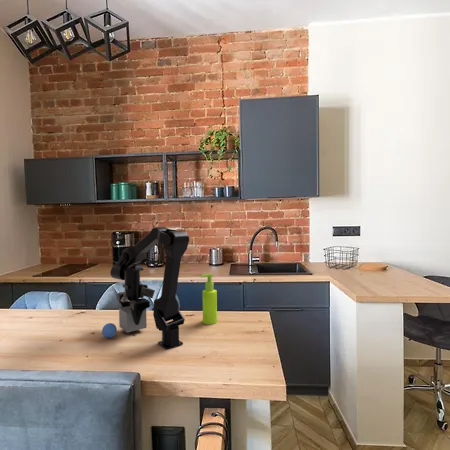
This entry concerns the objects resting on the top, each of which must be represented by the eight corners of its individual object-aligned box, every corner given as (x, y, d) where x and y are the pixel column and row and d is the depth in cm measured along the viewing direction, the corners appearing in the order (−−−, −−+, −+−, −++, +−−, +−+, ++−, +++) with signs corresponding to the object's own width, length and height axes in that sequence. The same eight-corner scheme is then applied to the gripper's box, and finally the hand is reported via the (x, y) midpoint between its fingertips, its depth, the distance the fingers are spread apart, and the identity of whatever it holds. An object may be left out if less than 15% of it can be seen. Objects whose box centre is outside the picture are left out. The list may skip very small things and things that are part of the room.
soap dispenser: (198, 321, 127) (198, 273, 127) (213, 318, 130) (213, 272, 130) (203, 325, 122) (202, 276, 122) (219, 323, 125) (218, 274, 124)
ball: (118, 337, 111) (118, 323, 111) (104, 341, 108) (104, 327, 107) (114, 333, 115) (113, 320, 115) (100, 336, 111) (100, 323, 111)
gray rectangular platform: (146, 327, 116) (146, 308, 116) (126, 332, 111) (126, 313, 111) (138, 322, 122) (138, 304, 122) (119, 326, 117) (119, 308, 117)
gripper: (162, 282, 114) (163, 323, 115) (142, 275, 129) (142, 311, 129) (134, 287, 107) (134, 331, 108) (115, 278, 122) (116, 317, 122)
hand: (133, 321), depth 117 cm, fingers closed on gray rectangular platform, 8 cm apart
